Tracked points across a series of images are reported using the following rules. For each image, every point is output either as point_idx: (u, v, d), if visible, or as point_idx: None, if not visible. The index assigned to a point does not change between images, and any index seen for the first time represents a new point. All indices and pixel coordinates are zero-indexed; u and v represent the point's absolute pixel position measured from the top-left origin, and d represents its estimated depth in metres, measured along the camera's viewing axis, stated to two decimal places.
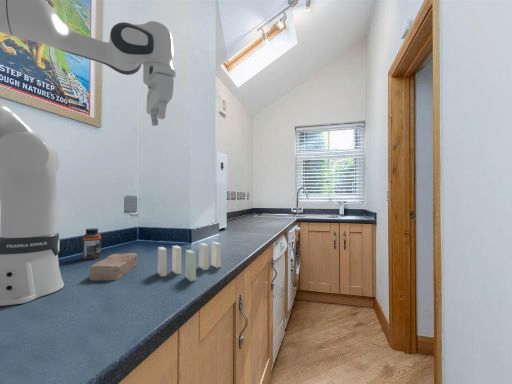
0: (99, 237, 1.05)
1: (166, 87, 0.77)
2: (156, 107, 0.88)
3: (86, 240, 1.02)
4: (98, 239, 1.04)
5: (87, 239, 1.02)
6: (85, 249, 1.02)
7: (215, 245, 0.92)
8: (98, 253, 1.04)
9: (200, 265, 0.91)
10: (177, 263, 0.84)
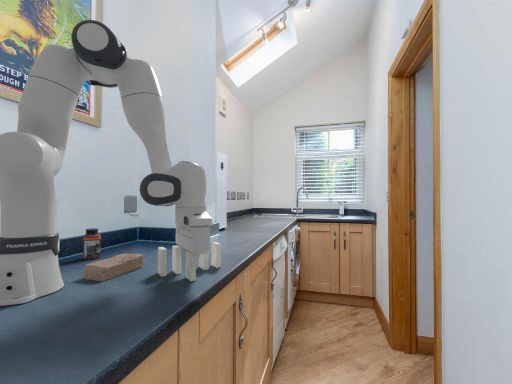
0: (99, 237, 1.05)
1: (203, 243, 0.71)
2: None
3: (86, 240, 1.02)
4: (98, 239, 1.04)
5: (87, 239, 1.02)
6: (85, 249, 1.02)
7: (215, 245, 0.92)
8: (98, 253, 1.04)
9: (200, 265, 0.91)
10: (177, 263, 0.84)
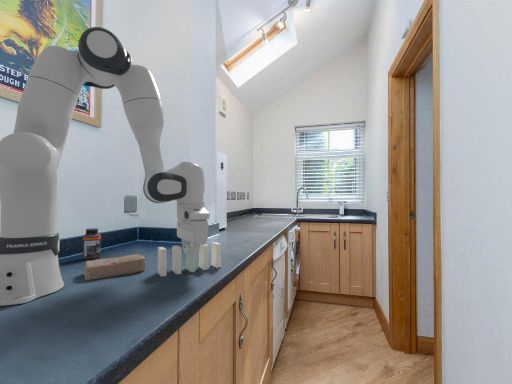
0: (99, 237, 1.05)
1: (201, 235, 0.80)
2: None
3: (86, 240, 1.02)
4: (98, 239, 1.04)
5: (87, 239, 1.02)
6: (85, 249, 1.02)
7: (215, 245, 0.92)
8: (98, 253, 1.04)
9: (200, 265, 0.91)
10: (177, 263, 0.84)
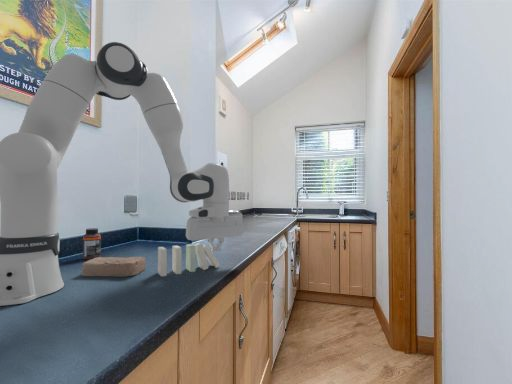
0: (99, 237, 1.05)
1: (187, 231, 0.88)
2: None
3: (86, 240, 1.02)
4: (98, 239, 1.04)
5: (87, 239, 1.02)
6: (85, 249, 1.02)
7: (204, 250, 0.90)
8: (98, 253, 1.04)
9: (199, 265, 0.91)
10: (177, 263, 0.84)
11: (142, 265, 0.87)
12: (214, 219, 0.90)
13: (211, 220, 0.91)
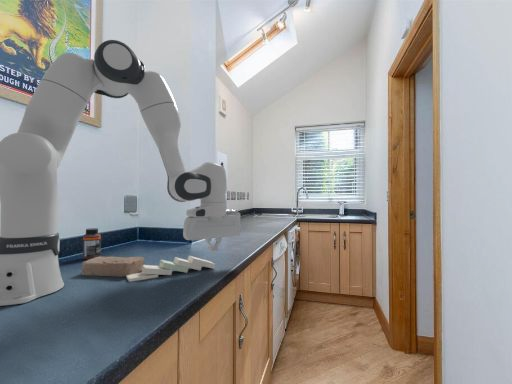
0: (99, 237, 1.05)
1: (184, 230, 0.88)
2: None
3: (86, 240, 1.02)
4: (98, 239, 1.04)
5: (87, 239, 1.02)
6: (85, 249, 1.02)
7: (192, 262, 0.88)
8: (98, 253, 1.04)
9: None
10: (160, 273, 0.81)
11: (140, 265, 0.86)
12: (212, 219, 0.90)
13: (208, 220, 0.90)
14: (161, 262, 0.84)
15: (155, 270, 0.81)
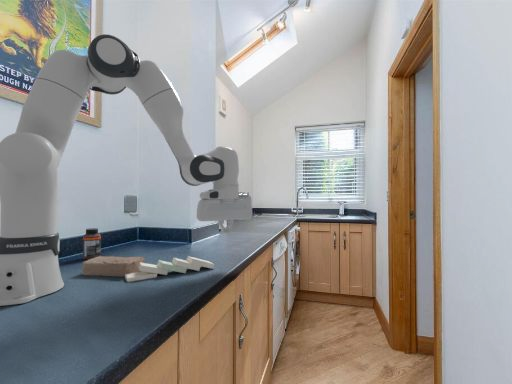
0: (99, 237, 1.05)
1: (198, 212, 0.90)
2: None
3: (86, 240, 1.02)
4: (98, 239, 1.04)
5: (87, 239, 1.02)
6: (85, 249, 1.02)
7: (191, 263, 0.87)
8: (98, 253, 1.04)
9: None
10: (156, 272, 0.81)
11: None
12: (224, 201, 0.92)
13: (221, 202, 0.93)
14: (159, 263, 0.84)
15: (151, 268, 0.81)
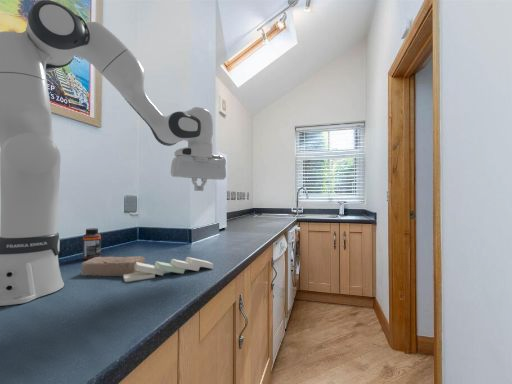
0: (99, 237, 1.05)
1: (172, 167, 0.95)
2: None
3: (86, 240, 1.02)
4: (98, 239, 1.04)
5: (87, 239, 1.02)
6: (85, 249, 1.02)
7: (191, 264, 0.87)
8: (98, 253, 1.04)
9: None
10: (152, 272, 0.81)
11: None
12: (197, 159, 0.97)
13: (195, 160, 0.97)
14: (157, 264, 0.83)
15: (147, 268, 0.80)
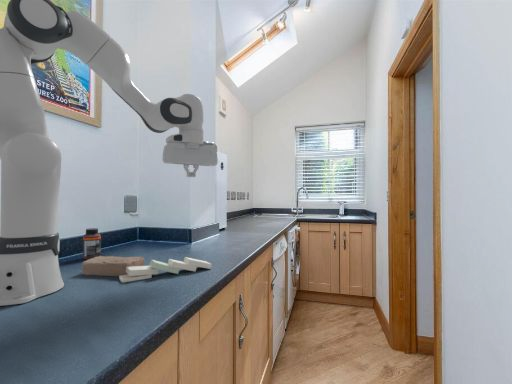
0: (99, 237, 1.05)
1: (163, 154, 0.96)
2: None
3: (86, 240, 1.02)
4: (98, 239, 1.04)
5: (87, 239, 1.02)
6: (85, 249, 1.02)
7: None
8: (98, 253, 1.04)
9: None
10: (147, 273, 0.80)
11: (140, 265, 0.86)
12: (189, 145, 0.98)
13: (186, 146, 0.98)
14: (152, 262, 0.82)
15: (141, 271, 0.79)
